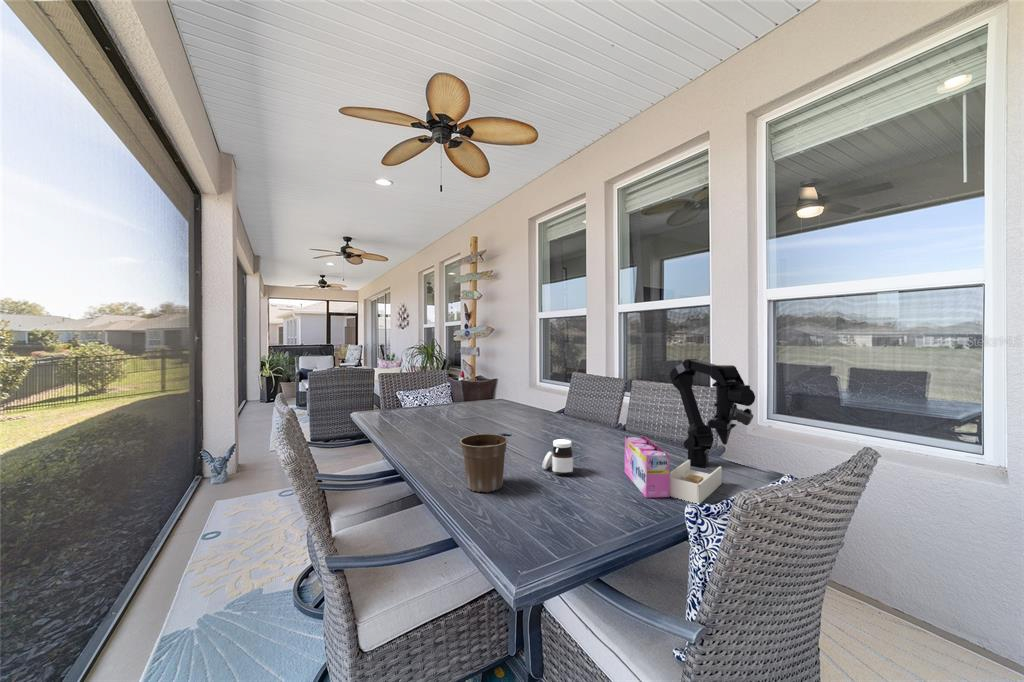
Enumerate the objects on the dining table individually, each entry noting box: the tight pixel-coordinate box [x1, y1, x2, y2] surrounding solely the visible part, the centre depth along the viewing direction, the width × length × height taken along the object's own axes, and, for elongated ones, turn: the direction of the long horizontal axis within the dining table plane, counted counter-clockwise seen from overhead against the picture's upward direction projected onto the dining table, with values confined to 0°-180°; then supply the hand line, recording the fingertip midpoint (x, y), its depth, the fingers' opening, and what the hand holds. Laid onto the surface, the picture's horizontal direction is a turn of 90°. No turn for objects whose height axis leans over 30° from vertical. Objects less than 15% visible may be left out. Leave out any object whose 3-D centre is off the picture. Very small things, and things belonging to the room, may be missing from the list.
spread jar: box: [541, 438, 574, 477], centre depth 152 cm, size 12×11×12 cm
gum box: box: [624, 435, 671, 498], centre depth 140 cm, size 24×8×14 cm, turn 2°
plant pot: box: [459, 433, 508, 493], centre depth 139 cm, size 16×16×16 cm
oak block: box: [686, 474, 703, 484], centre depth 128 cm, size 4×4×4 cm
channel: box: [669, 459, 723, 504], centre depth 135 cm, size 11×22×6 cm, turn 137°
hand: (724, 444), depth 145 cm, fingers closed
